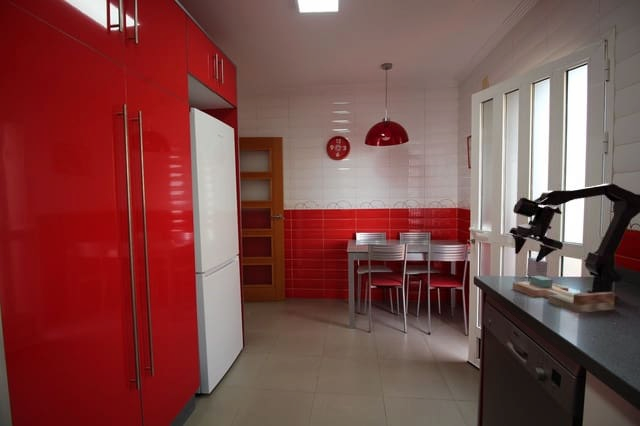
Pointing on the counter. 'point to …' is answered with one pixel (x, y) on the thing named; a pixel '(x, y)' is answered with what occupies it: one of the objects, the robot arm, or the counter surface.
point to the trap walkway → (569, 297)
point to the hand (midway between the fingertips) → (526, 257)
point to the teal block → (541, 281)
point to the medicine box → (536, 267)
